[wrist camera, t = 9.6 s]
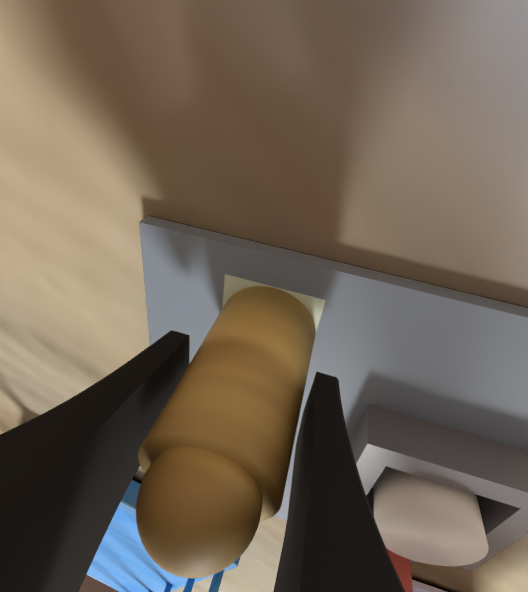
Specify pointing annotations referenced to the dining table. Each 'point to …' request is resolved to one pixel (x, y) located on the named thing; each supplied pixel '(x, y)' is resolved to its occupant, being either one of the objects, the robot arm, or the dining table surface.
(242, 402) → the tan rounded peg
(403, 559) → the die
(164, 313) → the board
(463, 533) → the dome
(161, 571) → the file sorter
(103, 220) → the dining table surface
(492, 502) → the dome housing
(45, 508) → the robot arm
